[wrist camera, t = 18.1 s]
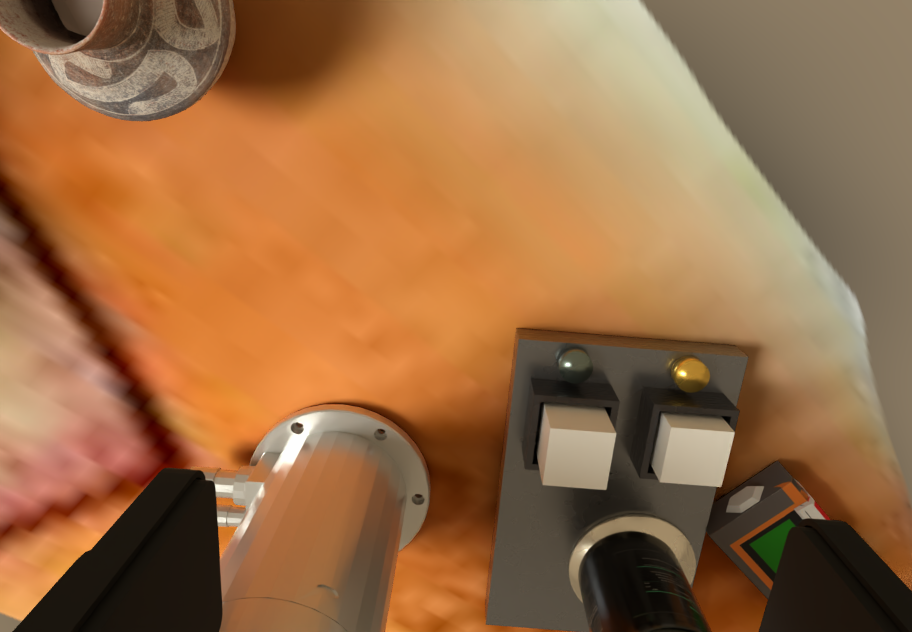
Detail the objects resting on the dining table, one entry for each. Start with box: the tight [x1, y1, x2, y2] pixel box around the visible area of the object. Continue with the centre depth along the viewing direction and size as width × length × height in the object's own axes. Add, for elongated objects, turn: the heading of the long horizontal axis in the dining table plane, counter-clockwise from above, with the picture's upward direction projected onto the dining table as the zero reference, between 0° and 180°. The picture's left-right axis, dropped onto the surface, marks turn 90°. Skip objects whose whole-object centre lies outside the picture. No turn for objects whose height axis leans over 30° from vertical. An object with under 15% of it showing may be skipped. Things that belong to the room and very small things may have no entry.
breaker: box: [536, 402, 616, 490], centre depth 35 cm, size 4×4×4 cm
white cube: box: [650, 411, 735, 487], centre depth 36 cm, size 4×4×4 cm
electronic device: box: [706, 461, 830, 599], centre depth 42 cm, size 7×3×15 cm
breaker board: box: [485, 328, 748, 632], centre depth 40 cm, size 14×22×4 cm, turn 176°
